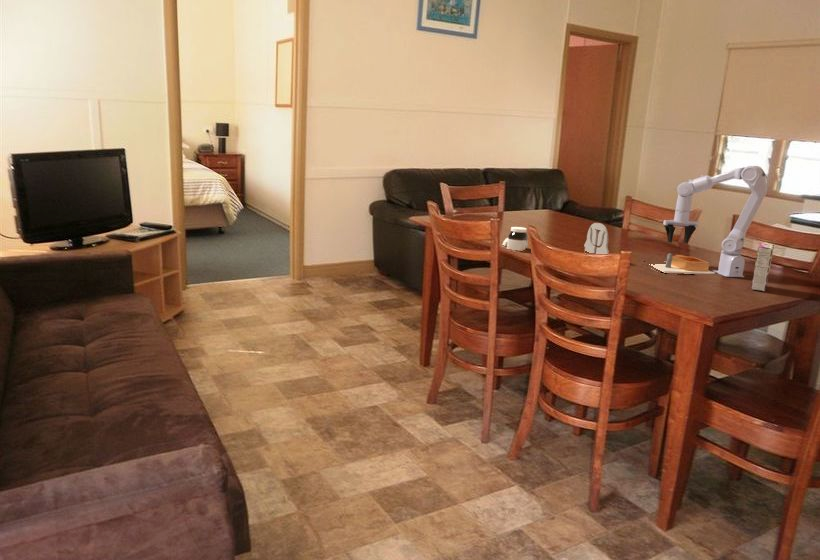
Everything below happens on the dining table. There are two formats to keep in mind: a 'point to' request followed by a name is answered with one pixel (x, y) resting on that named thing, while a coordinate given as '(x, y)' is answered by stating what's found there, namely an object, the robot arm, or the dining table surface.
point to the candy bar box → (762, 267)
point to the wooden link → (689, 263)
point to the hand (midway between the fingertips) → (677, 242)
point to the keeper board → (676, 268)
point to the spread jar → (517, 239)
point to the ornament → (593, 239)
